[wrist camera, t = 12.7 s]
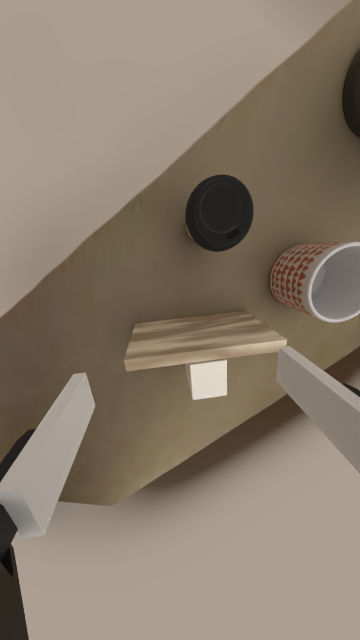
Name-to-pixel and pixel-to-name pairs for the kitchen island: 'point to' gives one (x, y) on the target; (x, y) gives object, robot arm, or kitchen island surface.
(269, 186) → the kitchen island surface
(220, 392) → the cabinet
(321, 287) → the planter
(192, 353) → the wooden board
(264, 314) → the kitchen island surface
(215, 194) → the coffee cup
